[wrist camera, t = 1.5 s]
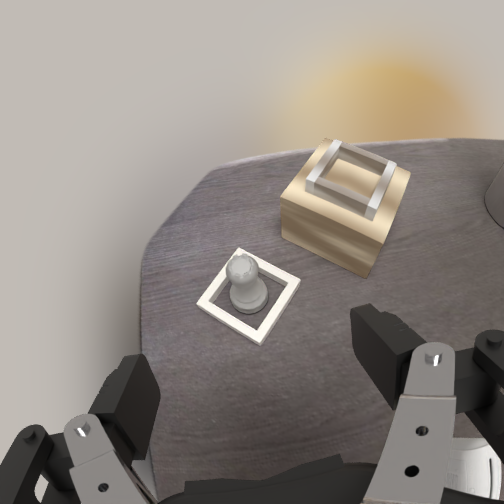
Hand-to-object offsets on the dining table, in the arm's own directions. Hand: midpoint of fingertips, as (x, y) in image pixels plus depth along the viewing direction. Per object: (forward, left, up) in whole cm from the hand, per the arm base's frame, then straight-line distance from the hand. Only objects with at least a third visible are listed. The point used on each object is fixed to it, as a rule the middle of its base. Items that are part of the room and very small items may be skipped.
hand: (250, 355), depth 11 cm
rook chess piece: (-8, -8, -22) cm, 25 cm away
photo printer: (+1, +22, -22) cm, 31 cm away
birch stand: (-23, -3, -22) cm, 32 cm away
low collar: (-8, -8, -22) cm, 25 cm away
